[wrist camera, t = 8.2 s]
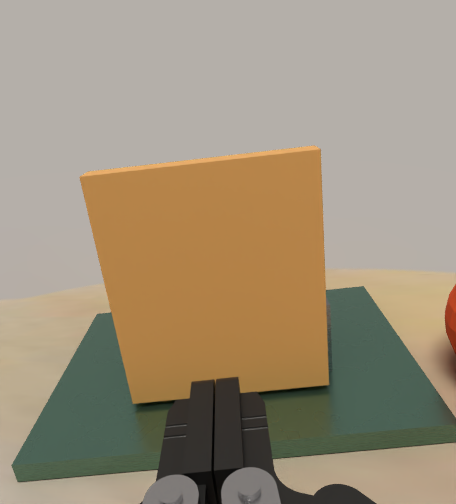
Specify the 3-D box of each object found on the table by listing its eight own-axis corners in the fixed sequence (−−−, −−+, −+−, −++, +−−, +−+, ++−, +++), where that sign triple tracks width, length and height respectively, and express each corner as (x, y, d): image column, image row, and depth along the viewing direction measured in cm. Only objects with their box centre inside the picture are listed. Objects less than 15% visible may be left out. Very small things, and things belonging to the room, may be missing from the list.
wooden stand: (132, 403, 22) (79, 177, 18) (161, 306, 32) (130, 145, 28) (329, 384, 22) (320, 149, 18) (296, 292, 32) (286, 127, 27)
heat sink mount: (17, 482, 20) (-63, 271, 16) (100, 325, 33) (66, 189, 29) (458, 441, 19) (480, 212, 15) (363, 298, 32) (363, 155, 29)
